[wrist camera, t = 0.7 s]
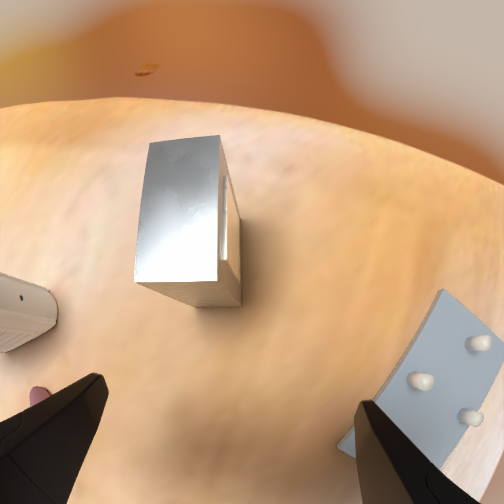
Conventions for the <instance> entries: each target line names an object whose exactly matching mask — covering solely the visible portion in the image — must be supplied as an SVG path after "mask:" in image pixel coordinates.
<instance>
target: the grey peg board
mask: <svg viewBox="0 0 504 504" xmlns="http://www.w3.org/2000/svg"><path fill="white" fill-rule="evenodd" d="M503 361H504V342H503V341H502V340H501V339H500V338H498V337H497V336H496V335H495V334H494V333H493V332H492V331H491V330H490V329H489V328H488V327H487V326H486V325H485V324H484V323H482V322H481V321H480V320H479V319H478V318H477V317H476V316H475V315H474V314H473V313H471V312H470V311H469V310H468V309H467V308H466V307H465V306H464V305H462V304H461V303H460V302H459V301H458V300H457V299H455V298H454V297H453V296H452V295H451V294H450V293H448V292H447V291H446V290H445V289H441V290H439V291H438V293H437V295H436V297H435V299H434V301H433V303H432V305H431V307H430V309H429V311H428V313H427V315H426V316H425V318H424V320H423V322H422V324H421V325H420V327H419V329H418V331H417V332H416V334H415V336H414V338H413V339H412V341H411V343H410V344H409V346H408V348H407V349H406V351H405V353H404V354H403V356H402V357H401V359H400V360H399V362H398V364H397V365H396V367H395V368H394V370H393V371H392V373H391V374H390V376H389V377H388V379H387V380H386V382H385V383H384V385H383V386H382V387H381V389H380V390H379V392H378V393H377V394H376V396H375V397H374V399H373V401H374V402H375V403H376V404H377V405H378V406H379V407H380V408H381V409H382V410H383V412H384V413H385V414H386V415H387V416H388V417H389V418H390V419H391V420H392V421H393V422H394V423H395V424H396V425H397V426H398V427H399V428H400V429H401V431H402V432H403V433H404V434H405V435H406V436H407V437H408V438H409V439H410V440H411V441H412V442H413V443H414V444H415V445H416V446H417V447H418V448H419V449H420V450H421V452H422V453H423V454H424V455H425V456H426V457H427V458H428V459H429V460H430V461H431V462H432V463H433V464H434V465H435V466H436V467H437V468H438V469H440V467H441V466H442V465H443V463H444V462H445V461H446V459H447V458H448V456H449V455H450V454H451V452H452V451H453V449H454V448H455V447H456V445H457V444H458V442H459V441H460V439H461V438H462V436H463V435H464V433H465V432H466V430H467V428H468V427H469V425H472V426H474V427H478V426H479V425H481V423H482V422H483V419H484V415H483V413H481V412H478V410H479V408H480V407H481V405H482V403H483V401H484V399H485V398H486V396H487V394H488V392H489V390H490V388H491V386H492V384H493V382H494V380H495V378H496V376H497V374H498V372H499V370H500V368H501V366H502V363H503ZM336 446H337V447H338V449H339V450H341V451H343V452H345V453H346V454H348V455H350V456H352V457H353V458H355V459H356V452H355V430H354V425H353V426H352V427H351V428H350V430H349V431H348V432H347V433H346V435H345V436H344V437H343V438H342V439H341V441H340V442H339V443H338V444H337V445H336ZM431 462H430V463H431Z"/></svg>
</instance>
